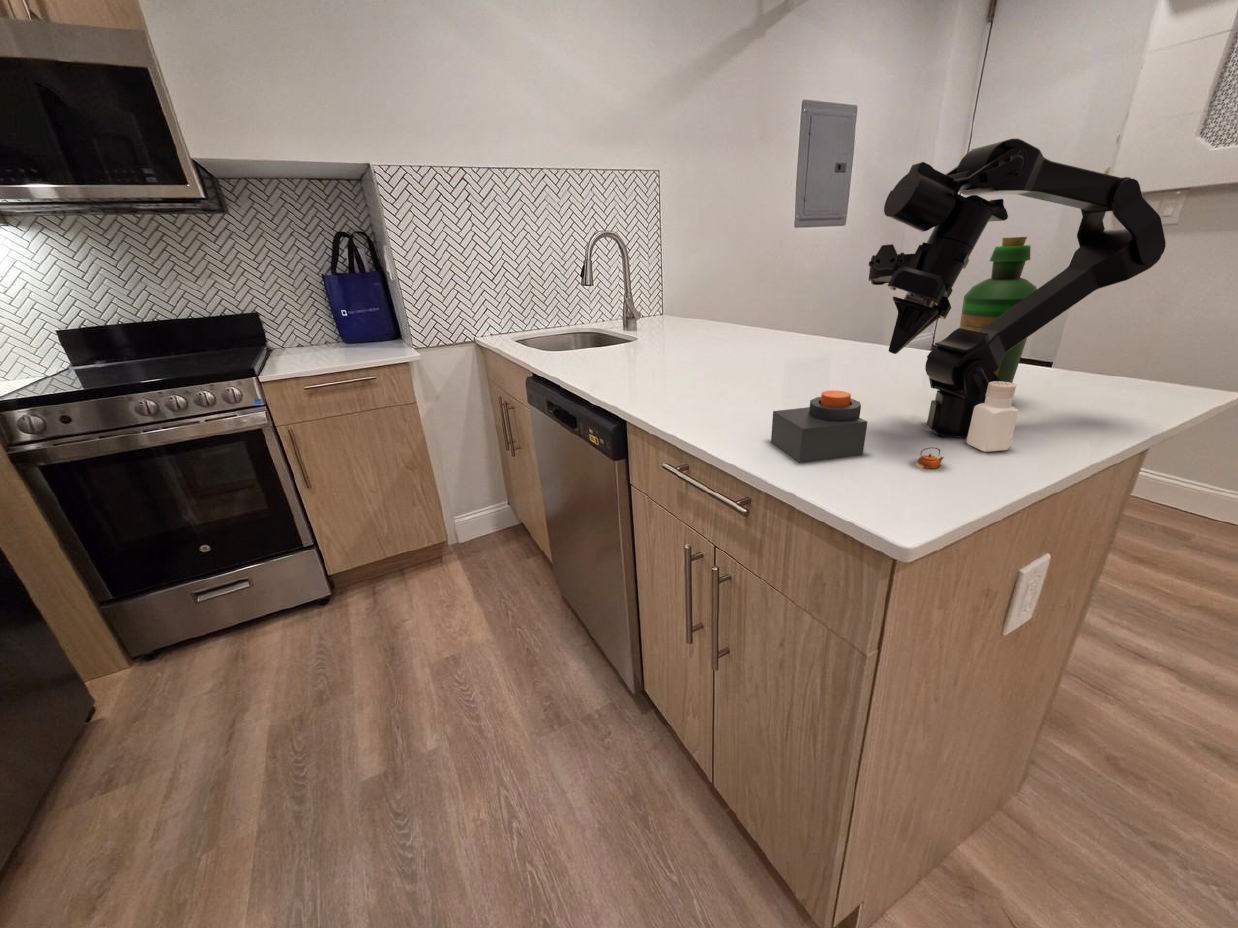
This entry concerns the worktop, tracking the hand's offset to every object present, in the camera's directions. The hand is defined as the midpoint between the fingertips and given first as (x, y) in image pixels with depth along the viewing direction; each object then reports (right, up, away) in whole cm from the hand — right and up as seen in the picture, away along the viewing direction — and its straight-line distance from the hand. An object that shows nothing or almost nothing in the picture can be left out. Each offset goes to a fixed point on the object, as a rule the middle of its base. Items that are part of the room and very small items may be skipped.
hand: (892, 353), depth 74 cm
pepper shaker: (+13, -14, -1) cm, 20 cm away
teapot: (+2, -17, -5) cm, 18 cm away
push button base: (-11, -14, +2) cm, 18 cm away
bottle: (+26, -5, +19) cm, 33 cm away
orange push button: (-8, -8, 0) cm, 11 cm away
